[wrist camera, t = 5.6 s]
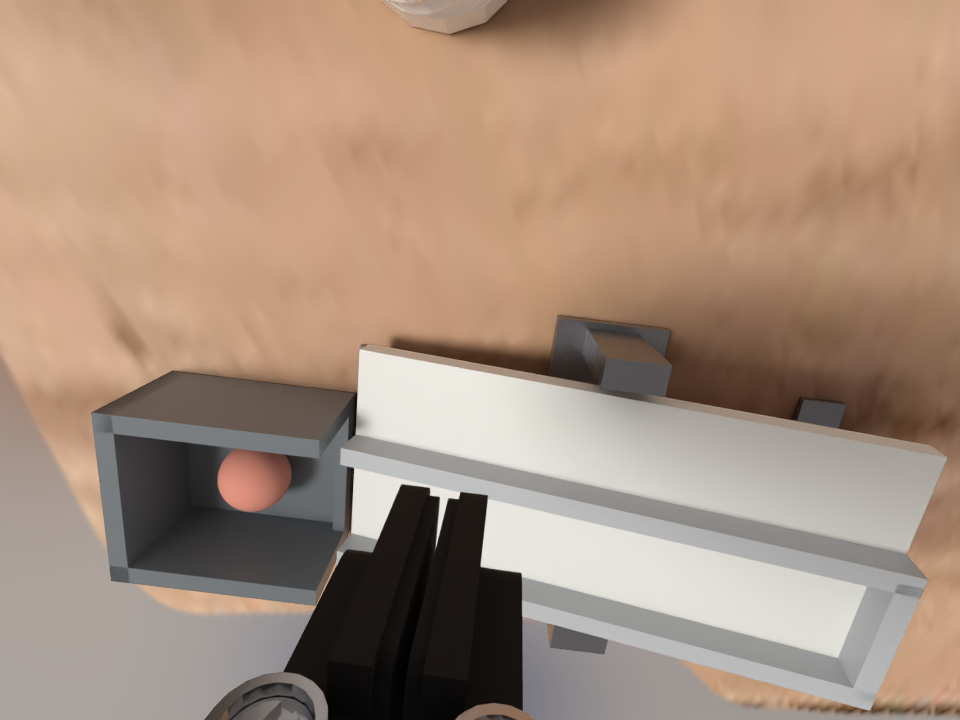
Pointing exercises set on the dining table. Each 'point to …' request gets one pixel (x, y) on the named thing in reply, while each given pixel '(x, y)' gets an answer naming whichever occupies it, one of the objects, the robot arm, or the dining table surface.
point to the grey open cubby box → (195, 494)
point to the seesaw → (660, 515)
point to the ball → (253, 479)
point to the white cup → (444, 13)
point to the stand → (638, 369)
